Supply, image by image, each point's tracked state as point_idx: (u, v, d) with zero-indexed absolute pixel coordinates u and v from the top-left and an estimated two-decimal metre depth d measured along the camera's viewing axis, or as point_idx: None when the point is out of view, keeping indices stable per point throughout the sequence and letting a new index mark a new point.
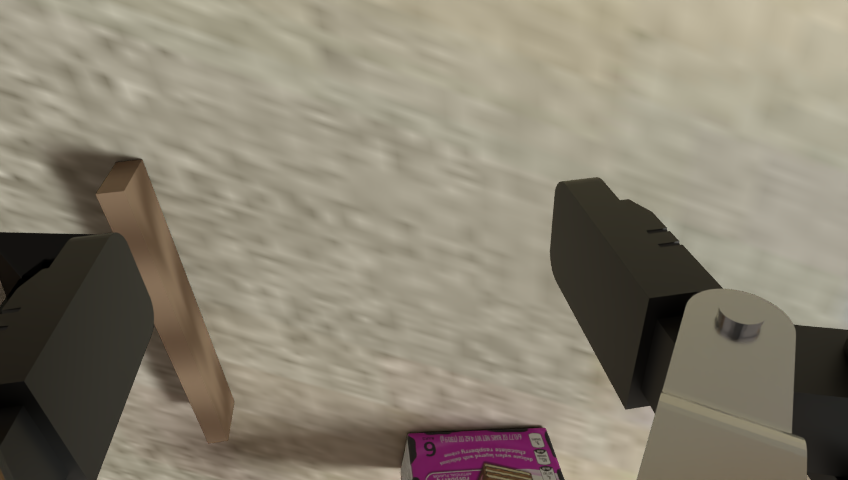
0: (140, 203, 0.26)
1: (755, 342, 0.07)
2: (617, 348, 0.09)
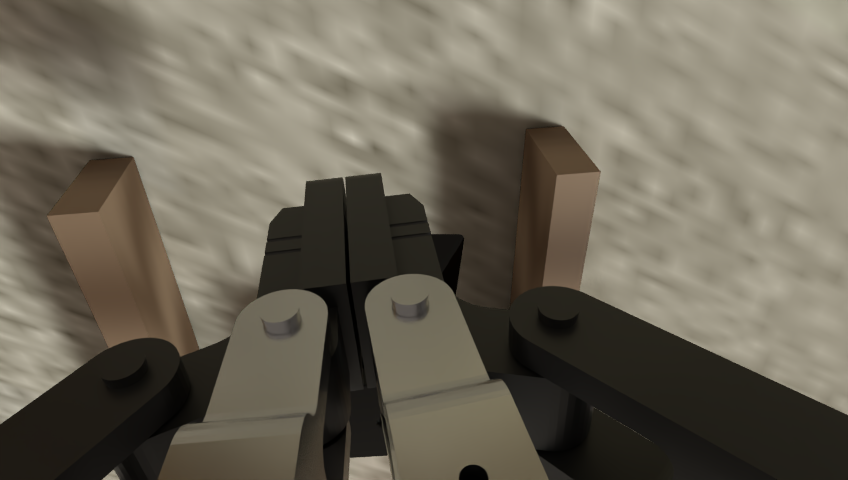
0: None
1: (411, 321, 0.07)
2: None
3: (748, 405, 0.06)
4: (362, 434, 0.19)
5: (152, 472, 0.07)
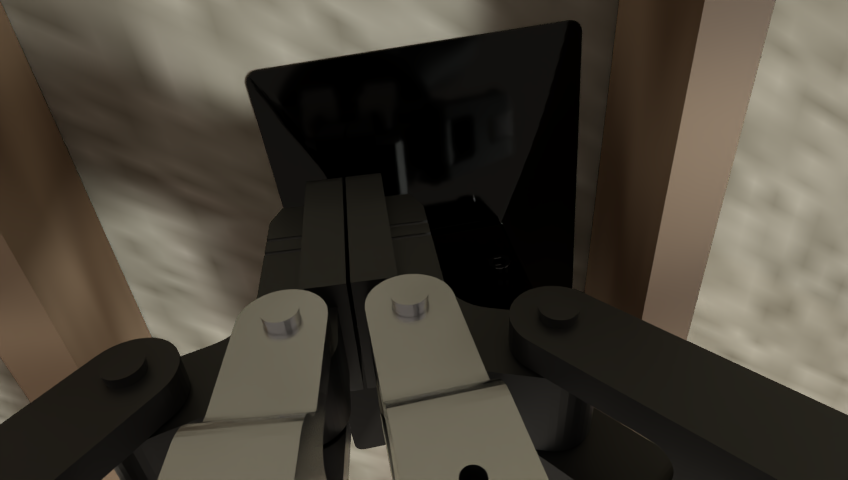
0: None
1: (411, 321, 0.07)
2: None
3: (749, 405, 0.06)
4: None
5: (152, 472, 0.07)
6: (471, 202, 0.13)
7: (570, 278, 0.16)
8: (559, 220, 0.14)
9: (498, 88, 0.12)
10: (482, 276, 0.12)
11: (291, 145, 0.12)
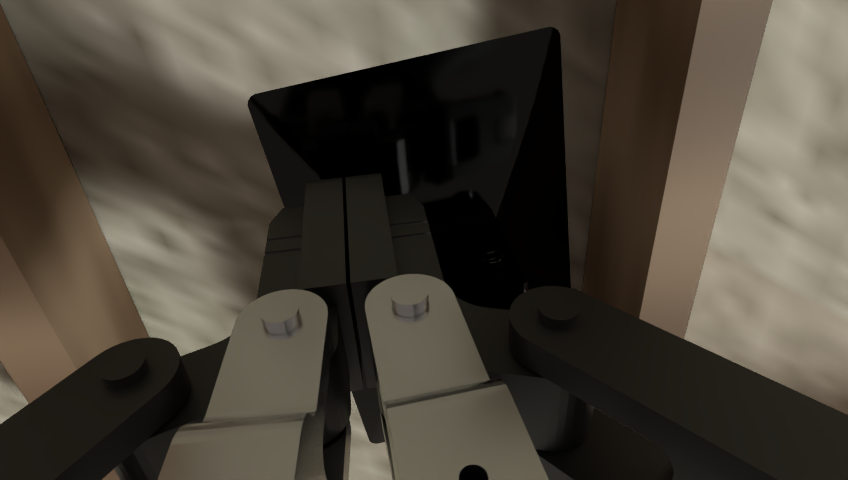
0: None
1: (411, 321, 0.07)
2: None
3: (748, 405, 0.06)
4: None
5: (152, 472, 0.07)
6: (465, 197, 0.13)
7: None
8: (556, 211, 0.14)
9: (485, 81, 0.12)
10: (477, 271, 0.12)
11: (282, 150, 0.12)
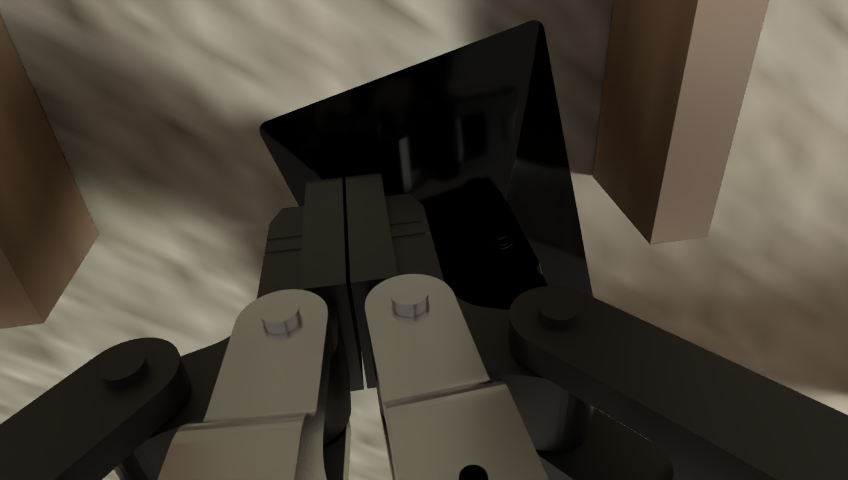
0: None
1: (411, 321, 0.07)
2: None
3: (748, 404, 0.06)
4: None
5: (152, 472, 0.07)
6: (472, 185, 0.13)
7: None
8: (569, 188, 0.14)
9: (476, 67, 0.12)
10: (489, 258, 0.12)
11: (285, 160, 0.13)
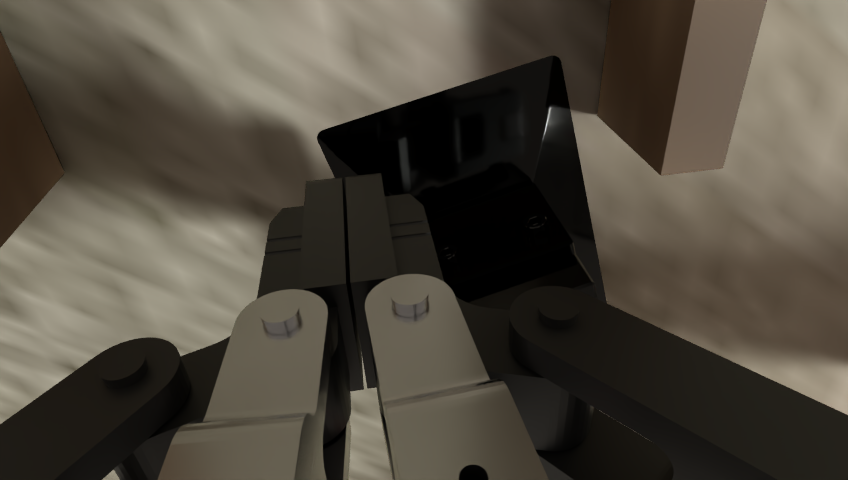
0: None
1: (411, 321, 0.07)
2: None
3: (749, 405, 0.06)
4: None
5: (152, 472, 0.07)
6: (499, 167, 0.13)
7: None
8: None
9: None
10: (521, 238, 0.12)
11: None
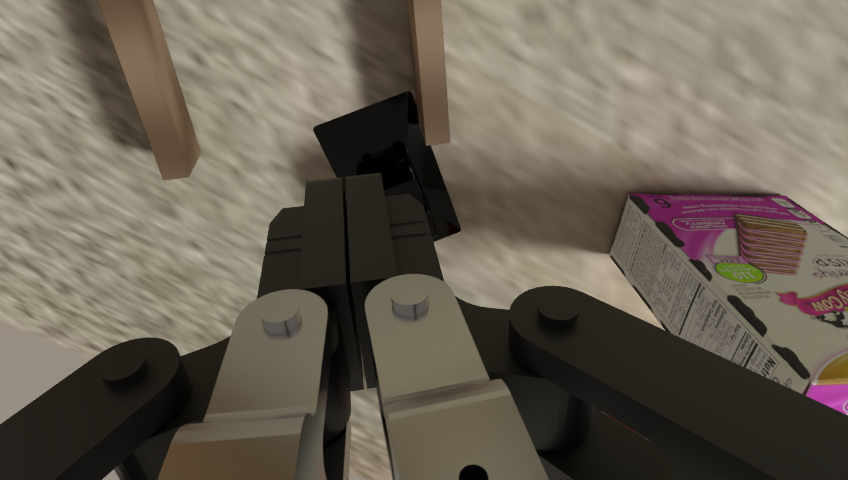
0: None
1: (411, 321, 0.07)
2: None
3: (748, 405, 0.06)
4: None
5: (152, 472, 0.07)
6: (390, 141, 0.31)
7: None
8: None
9: None
10: (393, 167, 0.29)
11: None
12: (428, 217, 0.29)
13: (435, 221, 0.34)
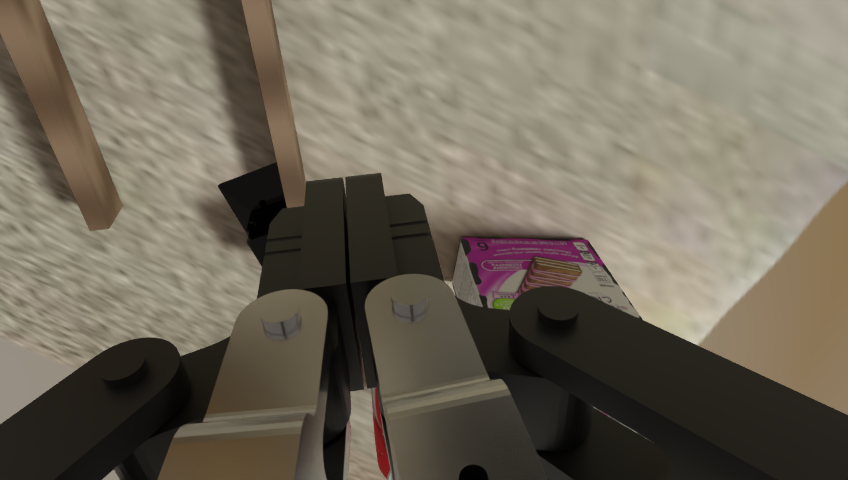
0: None
1: (411, 321, 0.07)
2: None
3: (748, 404, 0.06)
4: None
5: (152, 472, 0.07)
6: (276, 194, 0.41)
7: None
8: None
9: None
10: (274, 216, 0.39)
11: None
12: None
13: None
